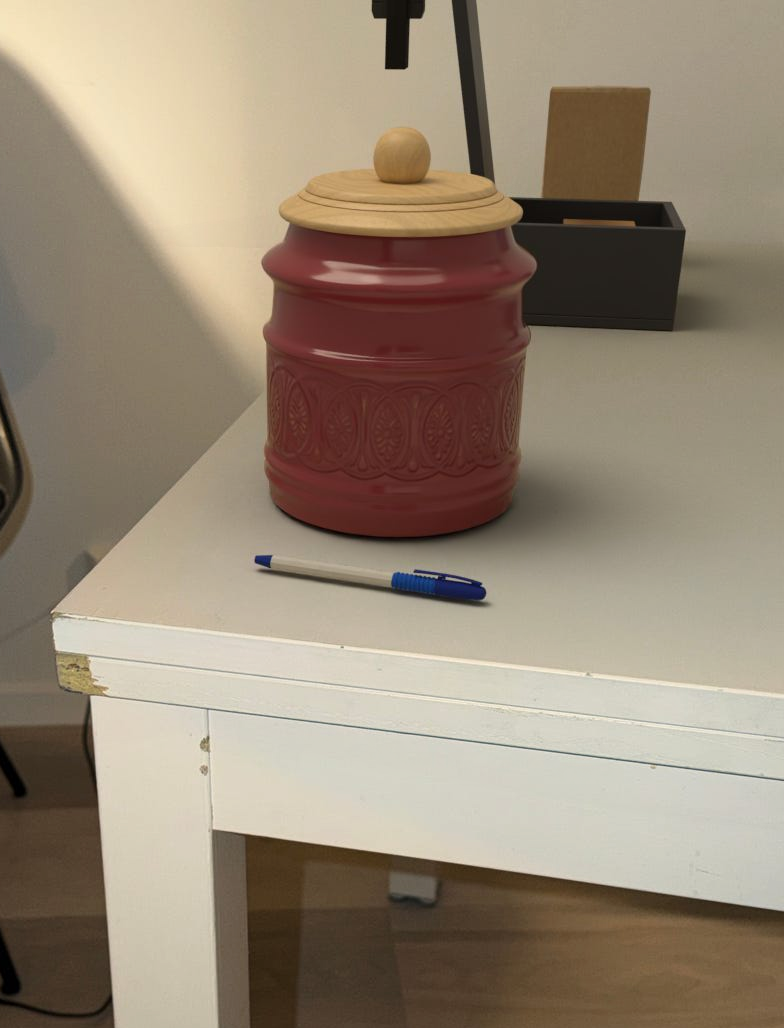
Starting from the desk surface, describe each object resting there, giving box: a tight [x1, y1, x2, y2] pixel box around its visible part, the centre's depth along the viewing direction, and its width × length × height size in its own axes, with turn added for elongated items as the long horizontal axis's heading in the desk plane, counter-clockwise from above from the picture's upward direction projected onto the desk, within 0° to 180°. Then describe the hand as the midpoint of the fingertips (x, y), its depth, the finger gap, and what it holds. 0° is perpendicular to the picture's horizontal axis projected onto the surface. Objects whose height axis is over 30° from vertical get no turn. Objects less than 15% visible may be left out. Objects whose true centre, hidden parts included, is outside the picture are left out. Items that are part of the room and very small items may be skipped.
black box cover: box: [451, 0, 496, 186], centre depth 98 cm, size 15×13×1 cm
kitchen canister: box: [260, 126, 537, 538], centre depth 63 cm, size 13×13×18 cm
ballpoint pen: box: [253, 554, 487, 601], centre depth 57 cm, size 10×1×1 cm, turn 72°
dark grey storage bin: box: [507, 196, 687, 332], centre depth 102 cm, size 15×13×7 cm
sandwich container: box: [540, 85, 652, 201], centre depth 121 cm, size 9×15×15 cm, turn 170°
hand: (396, 67), depth 98 cm, fingers closed
